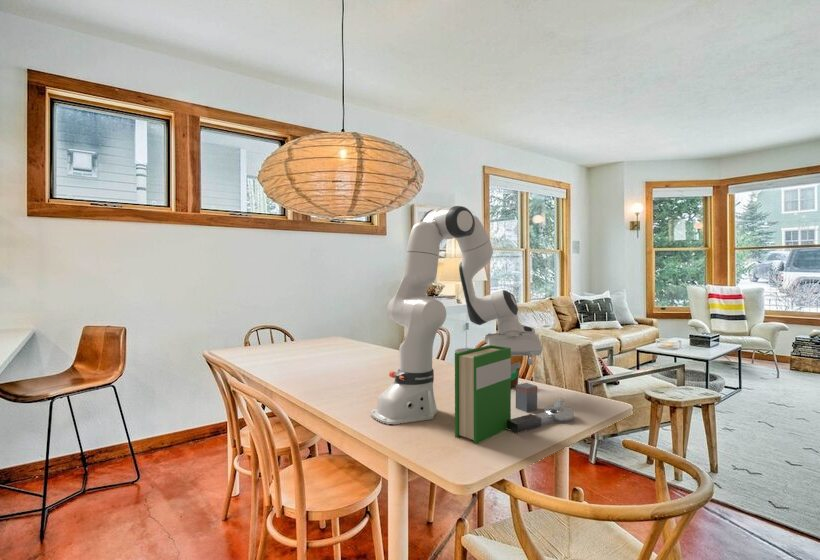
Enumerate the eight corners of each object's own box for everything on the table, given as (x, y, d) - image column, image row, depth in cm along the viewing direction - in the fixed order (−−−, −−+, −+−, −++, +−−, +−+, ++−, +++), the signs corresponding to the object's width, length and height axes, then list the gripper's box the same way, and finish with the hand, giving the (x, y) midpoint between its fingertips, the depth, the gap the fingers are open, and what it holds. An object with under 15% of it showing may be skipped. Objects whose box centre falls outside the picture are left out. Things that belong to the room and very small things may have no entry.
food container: (488, 387, 175) (488, 362, 175) (490, 383, 181) (490, 359, 181) (519, 390, 171) (519, 364, 171) (521, 386, 177) (521, 361, 176)
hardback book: (476, 444, 119) (476, 357, 119) (455, 437, 125) (454, 353, 124) (510, 427, 132) (510, 348, 131) (489, 421, 137) (489, 345, 137)
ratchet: (523, 435, 125) (523, 415, 125) (501, 426, 133) (501, 406, 133) (580, 419, 138) (580, 400, 138) (557, 411, 146) (557, 393, 146)
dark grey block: (526, 412, 145) (526, 388, 145) (515, 408, 150) (515, 384, 149) (537, 409, 148) (537, 386, 148) (526, 405, 152) (526, 382, 152)
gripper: (484, 328, 165) (491, 360, 155) (538, 328, 166) (547, 359, 156) (482, 338, 169) (488, 369, 160) (534, 337, 170) (543, 368, 161)
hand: (518, 364), depth 158 cm, fingers open, 8 cm apart
